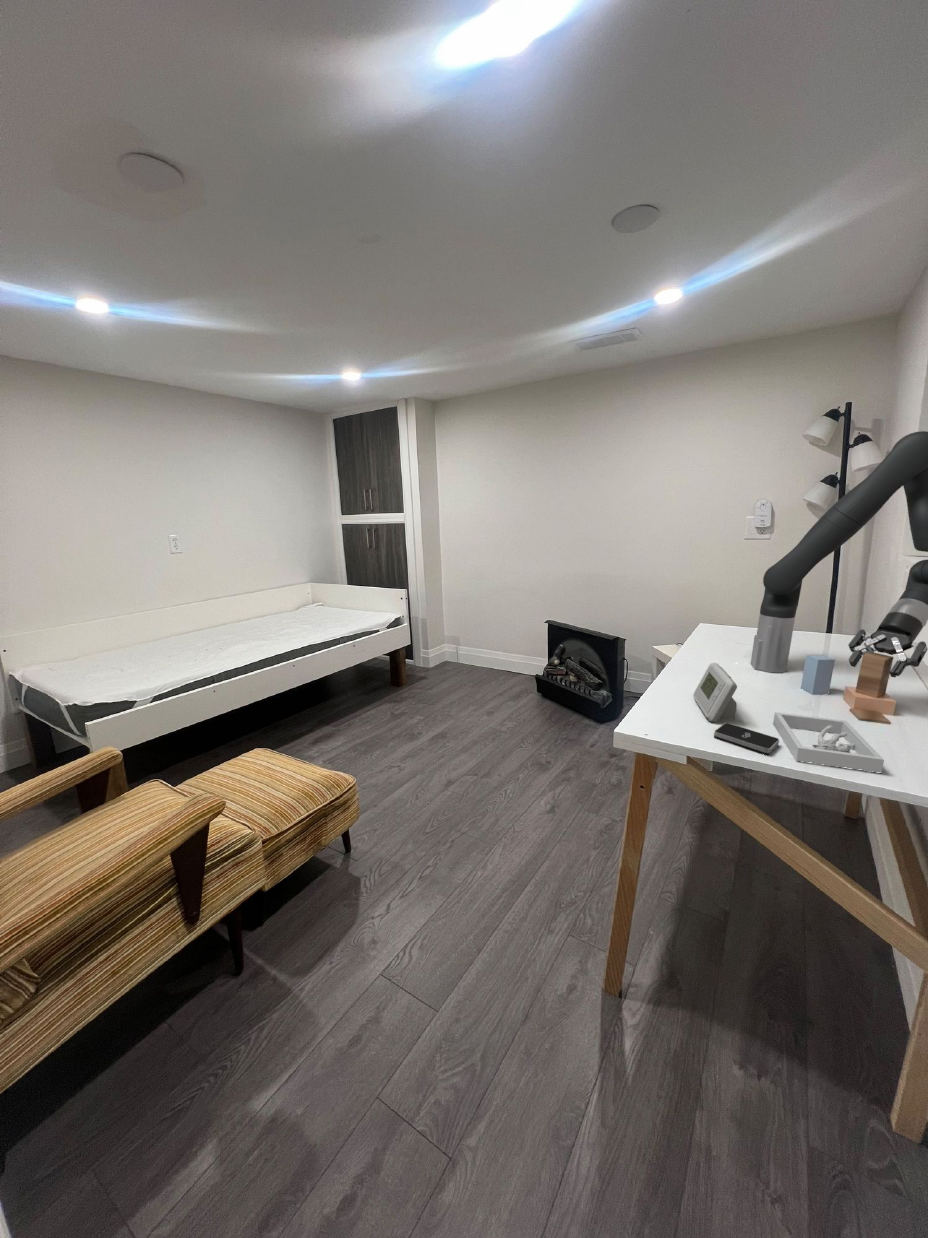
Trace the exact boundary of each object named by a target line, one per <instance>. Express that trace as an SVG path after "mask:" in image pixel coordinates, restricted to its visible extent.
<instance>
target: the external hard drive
mask: <svg viewBox="0 0 928 1238" xmlns="http://www.w3.org/2000/svg"><path fill="white" fill-rule="evenodd" d="M713 738H714V739H716V740H718V741H721V742H724V743H727V744H731V745H733V746H736V747H739V748H743V749H744V750H749V751H751V752H754V753H757V754H760V755H763V754H764V755H763V756H766V755H767V756H770V755H771V753H773V752H774V751H775V750H776V749H777V748H778V747H779V743H780V739H779V737H774V736H771V735H768V734H766V733H761V732H759V731H756V730H752V729H749V728H745V727H743V726H740V725H735V724H732V723H729V722H724V723H723V724H722V725H721V726H719V727H718V728H717V729H715V730H714V733H713Z"/></svg>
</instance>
